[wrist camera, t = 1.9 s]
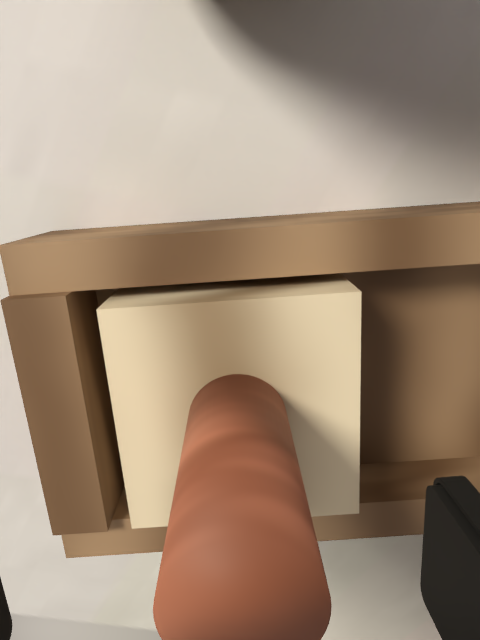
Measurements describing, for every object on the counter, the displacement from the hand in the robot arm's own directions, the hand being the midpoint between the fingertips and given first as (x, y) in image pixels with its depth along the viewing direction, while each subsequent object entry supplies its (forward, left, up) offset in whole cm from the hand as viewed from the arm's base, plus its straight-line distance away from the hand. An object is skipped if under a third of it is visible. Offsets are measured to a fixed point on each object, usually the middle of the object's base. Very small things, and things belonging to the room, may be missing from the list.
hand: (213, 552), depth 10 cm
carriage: (-1, 0, -9) cm, 9 cm away
